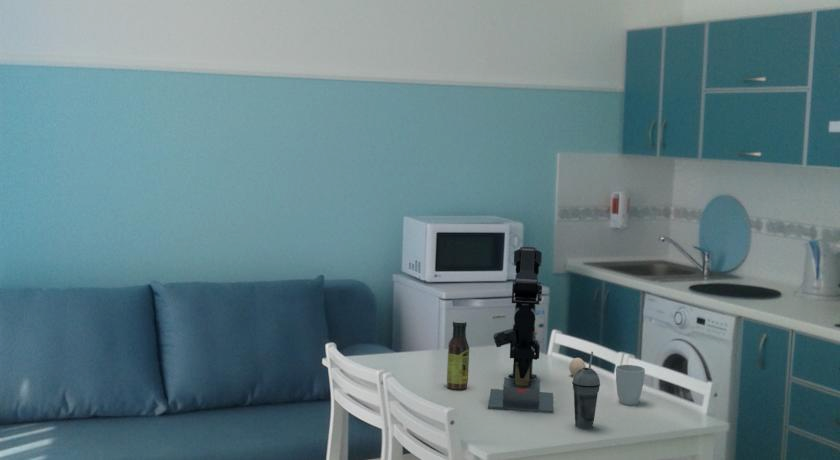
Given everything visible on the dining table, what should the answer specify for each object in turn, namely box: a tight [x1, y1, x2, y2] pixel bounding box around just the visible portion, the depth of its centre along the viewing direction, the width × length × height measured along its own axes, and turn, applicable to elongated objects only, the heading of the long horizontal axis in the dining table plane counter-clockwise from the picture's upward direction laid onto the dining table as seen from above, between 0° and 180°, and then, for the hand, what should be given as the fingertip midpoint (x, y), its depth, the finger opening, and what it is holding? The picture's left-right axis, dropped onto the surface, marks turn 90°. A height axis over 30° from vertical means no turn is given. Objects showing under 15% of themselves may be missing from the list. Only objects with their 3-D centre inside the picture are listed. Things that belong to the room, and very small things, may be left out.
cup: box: [615, 364, 646, 406], centre depth 286 cm, size 8×8×10 cm
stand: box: [487, 377, 555, 414], centre depth 284 cm, size 18×18×6 cm
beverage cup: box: [572, 351, 601, 430], centre depth 262 cm, size 7×7×20 cm
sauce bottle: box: [446, 319, 470, 391], centre depth 296 cm, size 6×6×20 cm
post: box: [515, 362, 530, 386], centre depth 283 cm, size 4×4×10 cm
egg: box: [568, 357, 587, 376], centre depth 314 cm, size 5×5×6 cm
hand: (522, 376), depth 283 cm, fingers closed on post, 4 cm apart
